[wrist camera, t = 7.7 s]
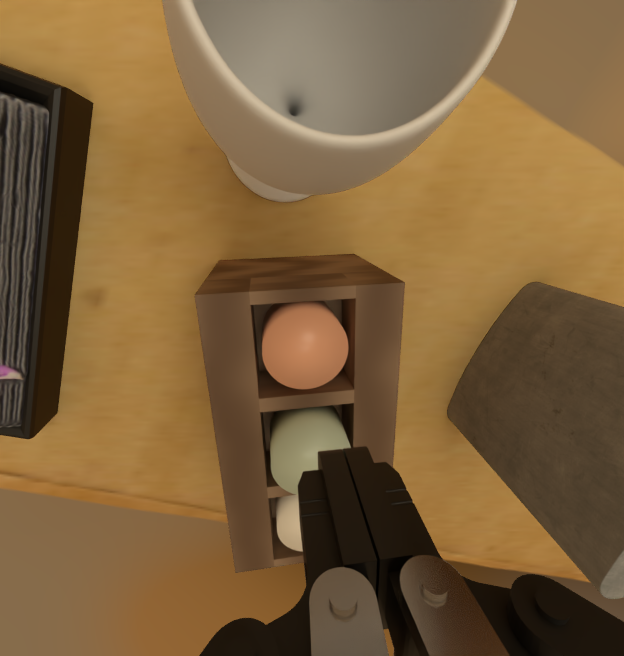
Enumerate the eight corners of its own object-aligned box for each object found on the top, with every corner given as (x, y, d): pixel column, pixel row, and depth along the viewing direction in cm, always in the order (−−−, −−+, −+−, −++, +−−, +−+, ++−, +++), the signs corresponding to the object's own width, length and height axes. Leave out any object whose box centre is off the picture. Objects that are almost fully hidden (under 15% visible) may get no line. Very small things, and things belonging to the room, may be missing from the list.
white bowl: (288, 36, 23) (423, -788, 4) (364, 148, 26) (659, -5, 7) (196, 129, 25) (-59, -154, 5) (279, 226, 28) (325, 287, 8)
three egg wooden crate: (354, 254, 29) (404, 282, 19) (351, 450, 36) (387, 549, 26) (219, 260, 28) (194, 295, 18) (243, 463, 35) (235, 572, 24)
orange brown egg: (335, 291, 22) (348, 306, 19) (336, 360, 24) (347, 385, 20) (259, 295, 21) (258, 312, 18) (264, 365, 23) (265, 392, 20)
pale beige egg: (336, 458, 26) (347, 494, 23) (336, 506, 28) (346, 546, 25) (273, 465, 26) (274, 503, 23) (277, 514, 28) (279, 556, 24)
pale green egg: (340, 392, 23) (353, 424, 20) (340, 452, 25) (352, 490, 21) (267, 399, 22) (267, 433, 19) (272, 459, 24) (273, 500, 21)
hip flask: (465, 425, 37) (674, 653, 18) (434, 415, 36) (621, 645, 17) (553, 289, 33) (938, 405, 14) (521, 273, 32) (889, 374, 13)
